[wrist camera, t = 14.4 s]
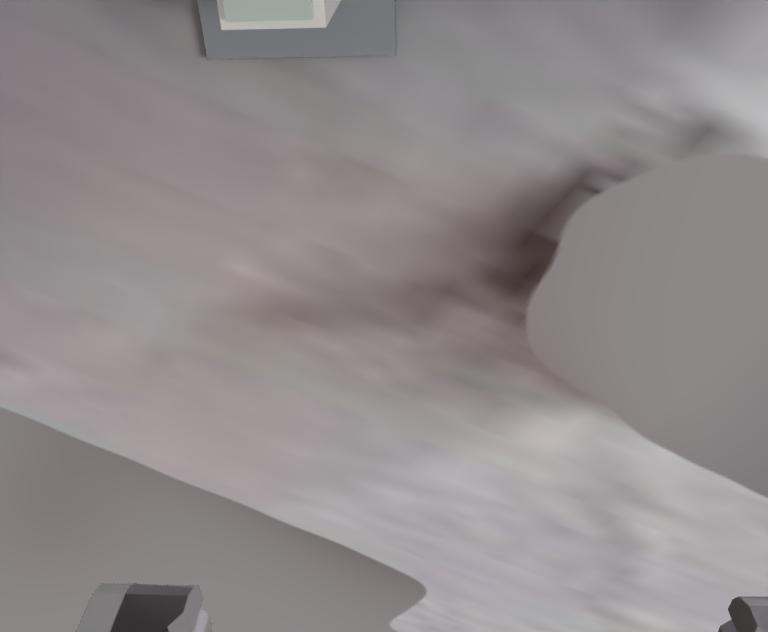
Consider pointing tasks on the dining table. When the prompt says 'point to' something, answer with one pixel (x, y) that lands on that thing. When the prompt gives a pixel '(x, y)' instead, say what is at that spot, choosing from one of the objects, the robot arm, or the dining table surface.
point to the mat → (307, 34)
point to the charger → (275, 14)
